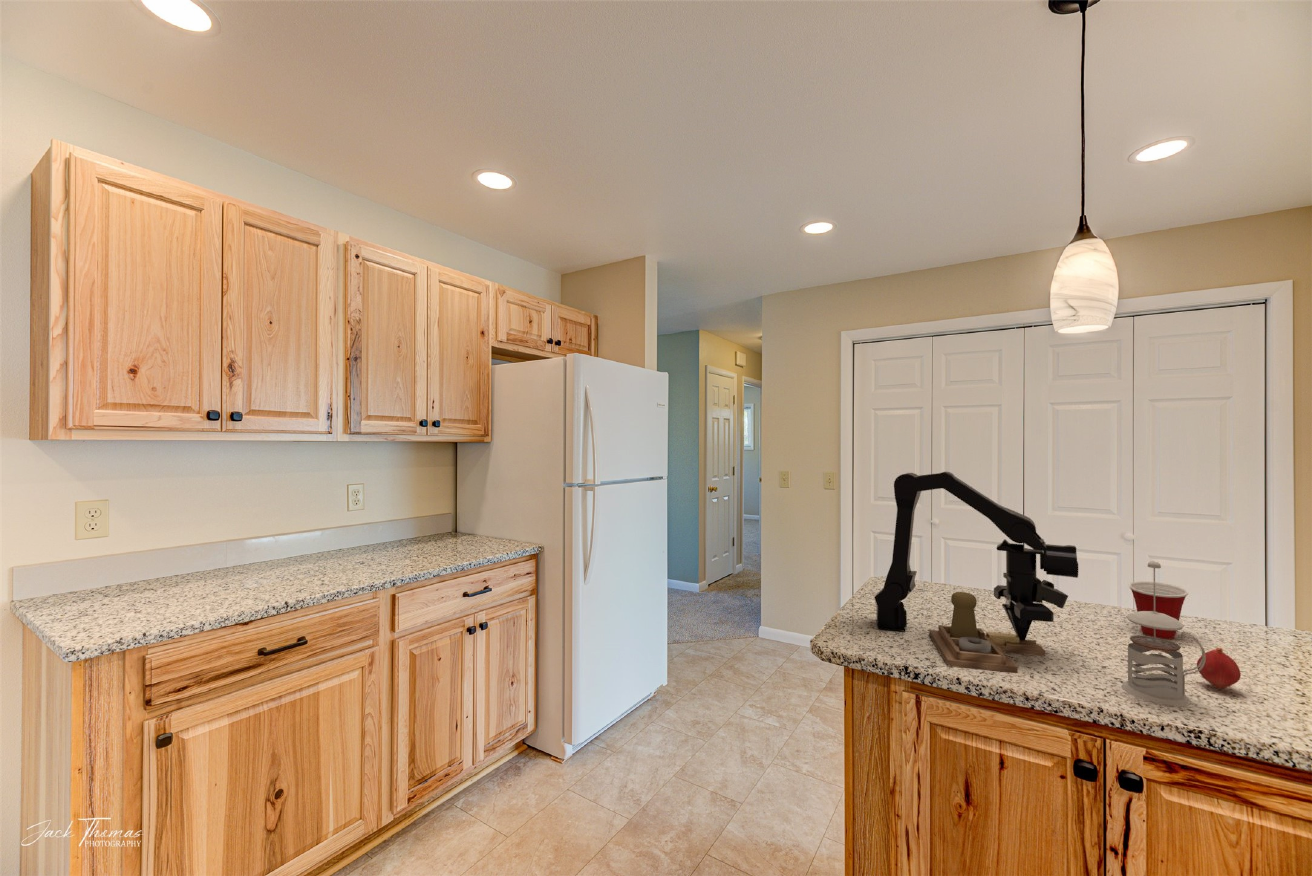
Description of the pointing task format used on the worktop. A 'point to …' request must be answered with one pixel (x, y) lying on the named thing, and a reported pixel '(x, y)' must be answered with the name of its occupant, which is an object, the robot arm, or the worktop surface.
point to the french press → (1157, 659)
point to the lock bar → (1002, 638)
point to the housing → (980, 650)
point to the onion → (1219, 669)
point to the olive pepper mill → (963, 615)
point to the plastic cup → (1158, 603)
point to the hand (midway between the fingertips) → (1021, 639)
